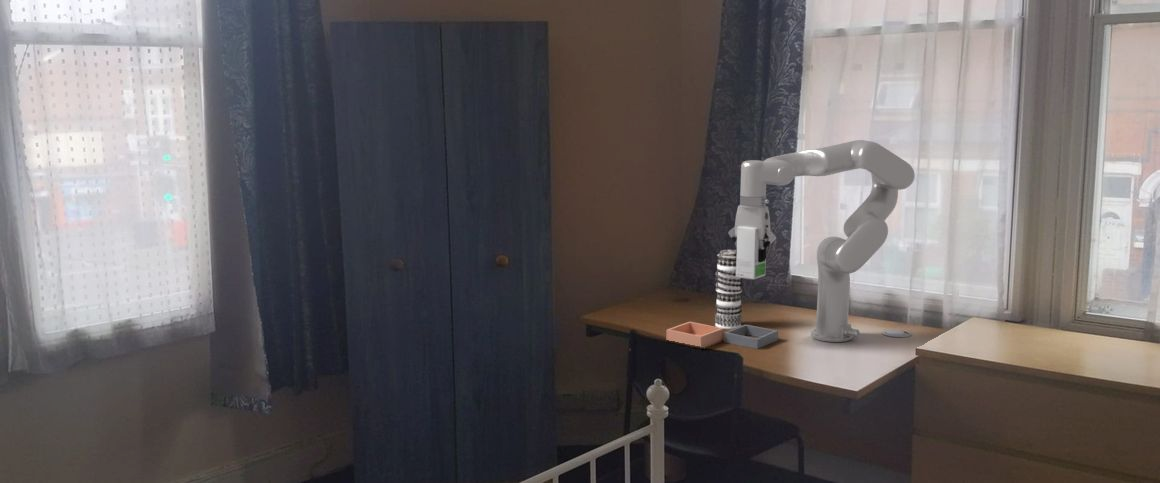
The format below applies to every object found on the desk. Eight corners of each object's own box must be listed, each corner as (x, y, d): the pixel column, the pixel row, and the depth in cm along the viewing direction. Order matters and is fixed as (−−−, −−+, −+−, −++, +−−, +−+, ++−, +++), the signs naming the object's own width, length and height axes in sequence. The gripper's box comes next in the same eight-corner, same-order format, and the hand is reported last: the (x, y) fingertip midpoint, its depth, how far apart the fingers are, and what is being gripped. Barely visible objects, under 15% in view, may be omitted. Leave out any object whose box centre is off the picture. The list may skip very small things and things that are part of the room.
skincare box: (753, 280, 276) (755, 228, 273) (734, 277, 280) (735, 226, 277) (766, 275, 282) (768, 225, 280) (746, 272, 286) (748, 223, 284)
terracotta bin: (723, 340, 285) (723, 328, 284) (700, 349, 276) (701, 336, 275) (689, 333, 293) (689, 321, 293) (666, 342, 284) (666, 329, 283)
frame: (777, 340, 286) (778, 330, 285) (757, 349, 276) (757, 339, 276) (745, 333, 293) (745, 324, 293) (723, 342, 284) (724, 332, 283)
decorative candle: (741, 330, 297) (743, 253, 293) (712, 328, 299) (714, 252, 295) (743, 322, 306) (745, 248, 302) (715, 321, 308) (716, 247, 304)
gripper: (784, 202, 274) (782, 261, 277) (734, 198, 285) (732, 254, 289) (772, 205, 269) (770, 265, 272) (721, 200, 280) (719, 258, 283)
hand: (750, 259), depth 280 cm, fingers closed on skincare box, 6 cm apart
